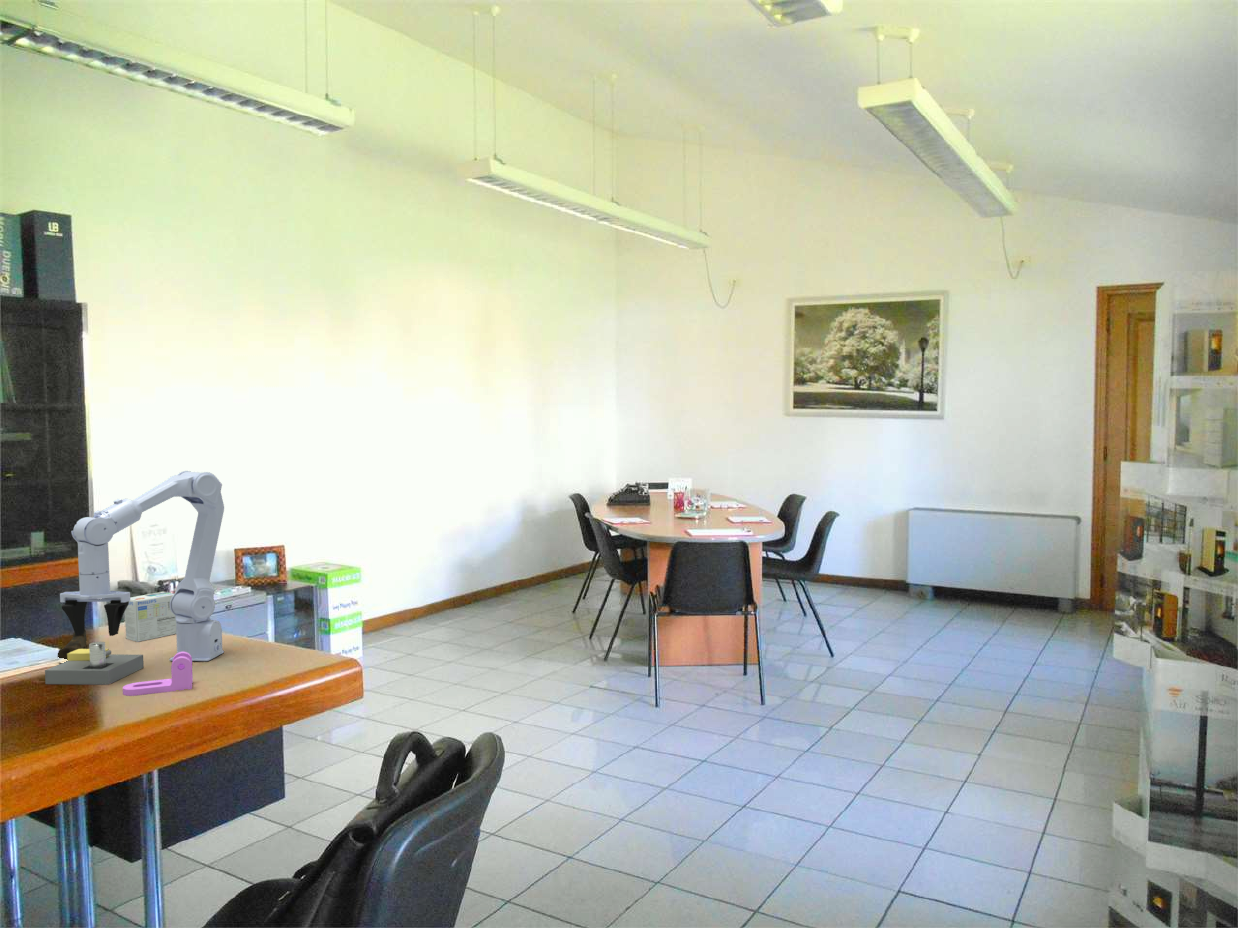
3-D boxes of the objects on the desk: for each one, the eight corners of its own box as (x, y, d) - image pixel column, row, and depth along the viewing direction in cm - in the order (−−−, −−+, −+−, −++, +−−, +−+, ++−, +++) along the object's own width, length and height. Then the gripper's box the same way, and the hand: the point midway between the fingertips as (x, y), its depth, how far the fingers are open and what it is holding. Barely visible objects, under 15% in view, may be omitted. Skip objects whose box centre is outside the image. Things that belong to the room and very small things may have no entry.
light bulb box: (165, 630, 243) (163, 590, 242) (178, 633, 239) (177, 593, 238) (124, 638, 234) (122, 597, 234) (137, 642, 230) (135, 600, 230)
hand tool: (77, 663, 212) (76, 643, 212) (57, 664, 210) (56, 645, 210) (96, 644, 230) (95, 626, 229) (78, 645, 228) (77, 627, 228)
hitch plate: (143, 667, 207) (143, 654, 207) (108, 684, 194) (108, 670, 194) (84, 667, 208) (83, 654, 207) (45, 683, 195) (44, 670, 194)
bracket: (192, 682, 196) (191, 650, 195) (191, 689, 190) (190, 656, 190) (124, 690, 190) (123, 657, 190) (121, 697, 185) (120, 664, 185)
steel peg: (109, 677, 199) (108, 641, 199) (101, 681, 196) (99, 645, 196) (96, 677, 199) (94, 641, 199) (87, 681, 196) (86, 645, 196)
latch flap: (111, 655, 206) (111, 648, 205) (100, 660, 202) (100, 653, 201) (79, 655, 206) (78, 648, 206) (67, 660, 202) (67, 653, 202)
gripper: (49, 575, 193) (52, 638, 193) (115, 575, 192) (118, 639, 193) (71, 570, 200) (73, 631, 200) (135, 570, 199) (137, 631, 200)
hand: (96, 634), depth 197 cm, fingers open, 7 cm apart
